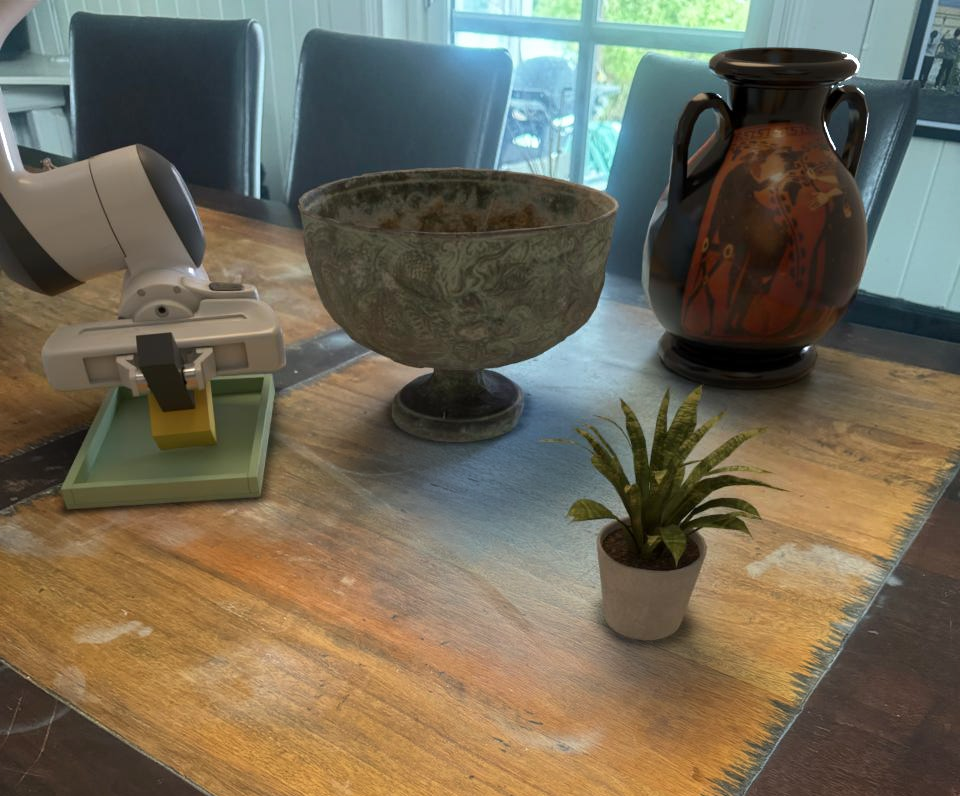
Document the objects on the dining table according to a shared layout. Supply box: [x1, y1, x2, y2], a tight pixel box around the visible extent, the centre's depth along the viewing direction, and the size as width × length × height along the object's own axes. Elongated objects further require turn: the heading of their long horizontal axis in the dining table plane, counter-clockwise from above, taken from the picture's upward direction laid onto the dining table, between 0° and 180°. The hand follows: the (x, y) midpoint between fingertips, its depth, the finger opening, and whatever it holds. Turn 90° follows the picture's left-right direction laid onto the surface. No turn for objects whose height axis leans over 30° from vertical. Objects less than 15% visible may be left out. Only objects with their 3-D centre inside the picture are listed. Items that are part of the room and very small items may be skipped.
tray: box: [60, 373, 276, 510], centre depth 85 cm, size 16×22×2 cm
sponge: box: [136, 332, 217, 450], centre depth 80 cm, size 5×7×11 cm
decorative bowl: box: [297, 166, 620, 443], centre depth 85 cm, size 26×26×20 cm
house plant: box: [535, 383, 795, 641], centre depth 59 cm, size 14×14×16 cm
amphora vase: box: [640, 46, 870, 390], centre depth 91 cm, size 22×22×28 cm
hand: (167, 384), depth 77 cm, fingers closed on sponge, 3 cm apart
